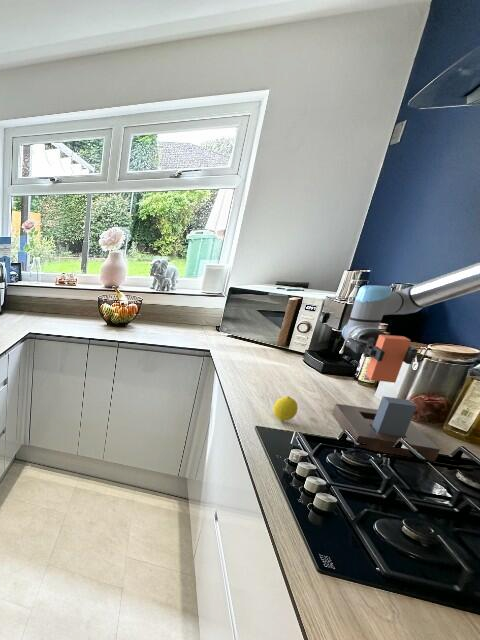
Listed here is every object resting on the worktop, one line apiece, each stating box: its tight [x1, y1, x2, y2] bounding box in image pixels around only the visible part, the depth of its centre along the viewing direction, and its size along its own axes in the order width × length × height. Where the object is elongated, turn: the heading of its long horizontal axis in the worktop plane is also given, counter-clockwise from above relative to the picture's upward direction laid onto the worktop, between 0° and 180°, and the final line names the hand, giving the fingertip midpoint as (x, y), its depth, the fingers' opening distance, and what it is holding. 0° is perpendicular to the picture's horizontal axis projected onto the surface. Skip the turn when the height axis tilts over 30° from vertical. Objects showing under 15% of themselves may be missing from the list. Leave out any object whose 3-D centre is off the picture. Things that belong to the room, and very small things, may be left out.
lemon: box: [272, 395, 298, 422], centre depth 118 cm, size 6×6×8 cm
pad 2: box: [372, 395, 417, 437], centre depth 104 cm, size 5×5×12 cm
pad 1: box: [365, 334, 412, 383], centre depth 110 cm, size 5×5×12 cm
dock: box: [331, 403, 441, 463], centre depth 110 cm, size 15×25×4 cm, turn 149°
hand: (395, 357), depth 105 cm, fingers closed on pad 1, 5 cm apart
